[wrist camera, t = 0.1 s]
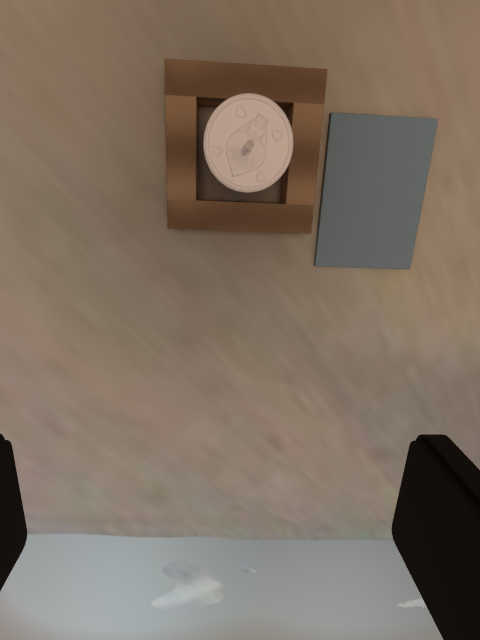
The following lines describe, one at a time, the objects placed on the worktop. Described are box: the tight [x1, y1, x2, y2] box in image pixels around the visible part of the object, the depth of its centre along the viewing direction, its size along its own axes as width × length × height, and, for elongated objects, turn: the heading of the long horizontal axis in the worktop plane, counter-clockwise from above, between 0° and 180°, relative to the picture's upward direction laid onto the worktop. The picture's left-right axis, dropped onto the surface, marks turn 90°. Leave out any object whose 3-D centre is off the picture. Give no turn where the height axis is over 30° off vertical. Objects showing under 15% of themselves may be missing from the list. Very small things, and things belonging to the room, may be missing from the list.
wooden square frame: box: [164, 59, 327, 234], centre depth 34 cm, size 13×13×4 cm
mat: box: [314, 113, 438, 269], centre depth 37 cm, size 14×10×1 cm
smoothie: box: [203, 93, 293, 193], centre depth 29 cm, size 6×6×14 cm
